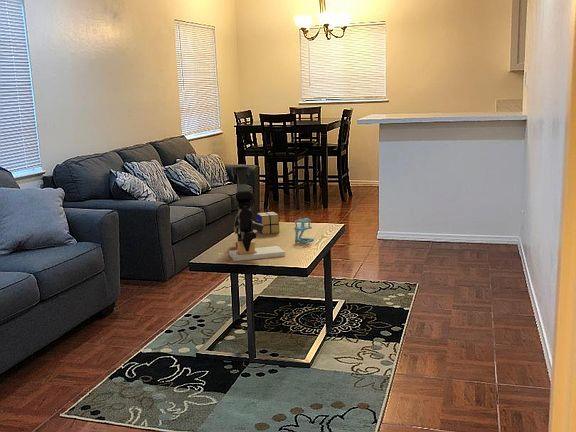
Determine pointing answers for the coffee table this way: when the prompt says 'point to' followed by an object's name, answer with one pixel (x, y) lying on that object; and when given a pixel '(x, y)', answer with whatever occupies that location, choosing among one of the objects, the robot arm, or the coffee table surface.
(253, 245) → the beige block
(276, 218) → the puzzle cube
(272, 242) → the coffee table surface
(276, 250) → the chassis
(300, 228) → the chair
